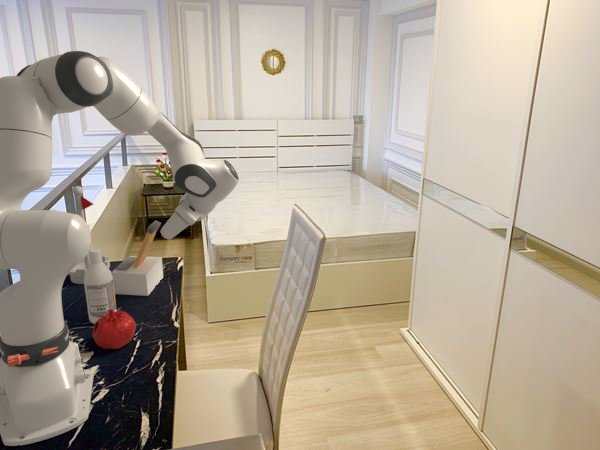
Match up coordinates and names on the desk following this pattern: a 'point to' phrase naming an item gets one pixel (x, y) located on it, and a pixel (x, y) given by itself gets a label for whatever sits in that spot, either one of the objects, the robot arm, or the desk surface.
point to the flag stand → (80, 269)
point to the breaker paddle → (147, 242)
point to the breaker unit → (137, 276)
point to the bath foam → (98, 287)
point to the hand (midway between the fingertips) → (164, 235)
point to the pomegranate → (113, 329)
